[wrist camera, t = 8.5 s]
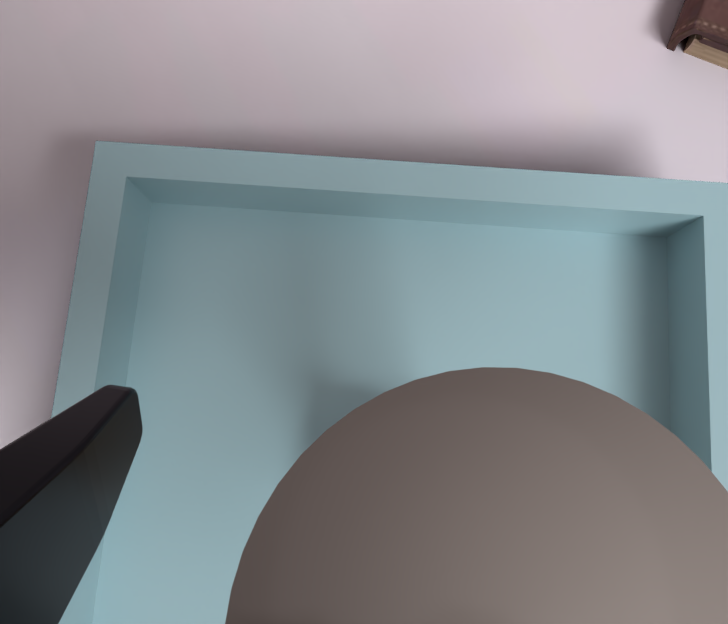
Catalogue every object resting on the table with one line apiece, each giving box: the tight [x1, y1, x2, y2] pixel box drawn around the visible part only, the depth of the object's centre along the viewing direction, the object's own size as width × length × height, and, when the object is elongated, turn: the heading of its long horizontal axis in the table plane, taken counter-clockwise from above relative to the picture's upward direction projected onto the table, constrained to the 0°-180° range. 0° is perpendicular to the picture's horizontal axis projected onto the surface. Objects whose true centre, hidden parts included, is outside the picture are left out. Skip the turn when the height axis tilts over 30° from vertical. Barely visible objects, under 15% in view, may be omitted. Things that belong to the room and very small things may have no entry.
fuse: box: [225, 367, 728, 624], centre depth 11 cm, size 4×4×13 cm
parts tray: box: [51, 141, 728, 624], centre depth 16 cm, size 18×18×3 cm
